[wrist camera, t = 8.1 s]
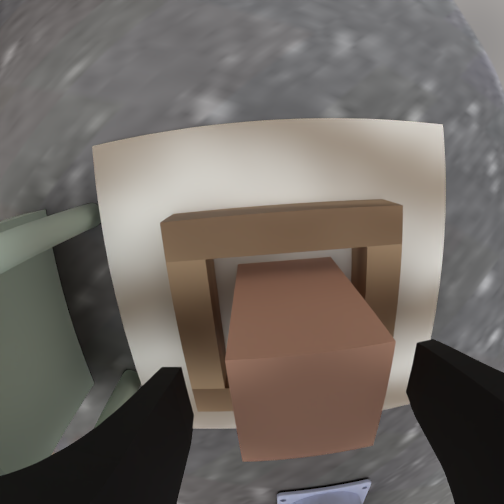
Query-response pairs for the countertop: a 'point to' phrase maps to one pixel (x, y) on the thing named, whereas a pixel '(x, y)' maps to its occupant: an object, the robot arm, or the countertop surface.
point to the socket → (268, 233)
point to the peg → (304, 361)
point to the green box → (41, 339)
